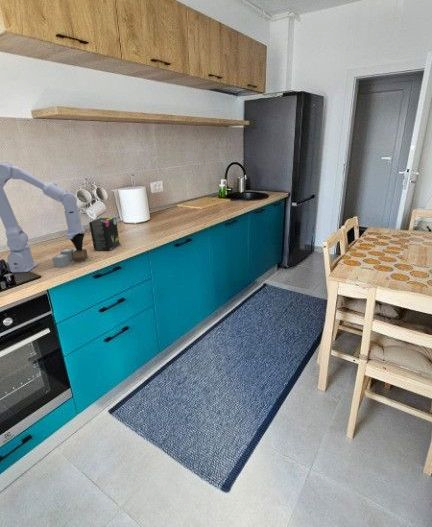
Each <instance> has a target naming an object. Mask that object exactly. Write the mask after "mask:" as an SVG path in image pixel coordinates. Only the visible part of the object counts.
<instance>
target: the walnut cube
mask: <svg viewBox="0 0 432 527" xmlns="http://www.w3.org/2000/svg"><path fill="white" fill-rule="evenodd" d="M88 256H89V255H88V250H87V249H86V248H85V249H84V248H82V250H78V251H77V250H76V249H75V250H74V252H73V257H74V259H73V261H74V262H75V263H80V261H83V262H86V259H87V258H88V259H89V257H88ZM88 259H87V260H88Z"/></svg>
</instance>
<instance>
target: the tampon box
mask: <svg viewBox="0 0 432 527" xmlns="http://www.w3.org/2000/svg"><path fill="white" fill-rule="evenodd" d="M88 224H89V229H90V234H91V241H92V244H93V250H94V251H102V252H103V251H104V252H105V251H107V252H109V251H110V252H111V251H112V250H114V249H115V248H117V247H118V246H120V239H119V238H120V236H119V230H118V222H117V218H116V217H99V218H96V219H94V220H91V221H89V222H88Z"/></svg>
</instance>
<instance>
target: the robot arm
mask: <svg viewBox="0 0 432 527" xmlns="http://www.w3.org/2000/svg"><path fill="white" fill-rule="evenodd" d="M11 179H12V180H21V181H24V182H26V183H28V184H30V185H32V186H34V187H36V188H38V189H40V190H42V193H43V195H45V196H47V197H48V198H51V199H52V200H54V201H55V202H57V203H58V202H59V203H61V204H62V206H63V207H64V208H63V209H64V216H65V220H66V226H67V230H68V231H67V233H66V234H65V235H66V239H67V240H70V241H71V243H72V244H73V246H74V248H75V250H77V251H78V250H82V249H83V242H84V237H85V233H84V232H86V229H85V226H82V221H81V217H80V210H79V206H78V203H77V201H78V199H77V196H76V195H75V194H74V193H73V192H69V190H68V189H64V188H62V187H60V186H59V185H58V184H57V183H56V182H52V181H51V182H45V181H43V180H41V179H40V178H38V177H36V176H35V175H33V174H31V173H30V172H28V171H26V170H25V169H24V168H21V167H19V166H16V165H13V164H12V163H9V161H8V162H7V161H6V162H5V161H2V162H0V220H1V223H2V224H3V227H4V228H5V237H6V239H7V241H6V245H7V246H8V248H9V250H10V252H9V254H7V260H6V261H7V262H8V267H9V271H11V272H12V273H27V272H29V271H31V270H33V269H34V268H36V267H37V266H39V263H37V262H34V258H33V253H32V252H31V250H32V249H31V246H30V245H29V244H28V242H29V235H27V233H25V232H24V231H23V228H22V227H21V226H20V225H19V222H18V220H17V217H16V215H15V213H14V211H13V208H12V206H11V203H10V201H9V198H8V197H7V193H6V191H5V189H4V187H5V186H6V184H7V183H8V181H9V180H11Z"/></svg>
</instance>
